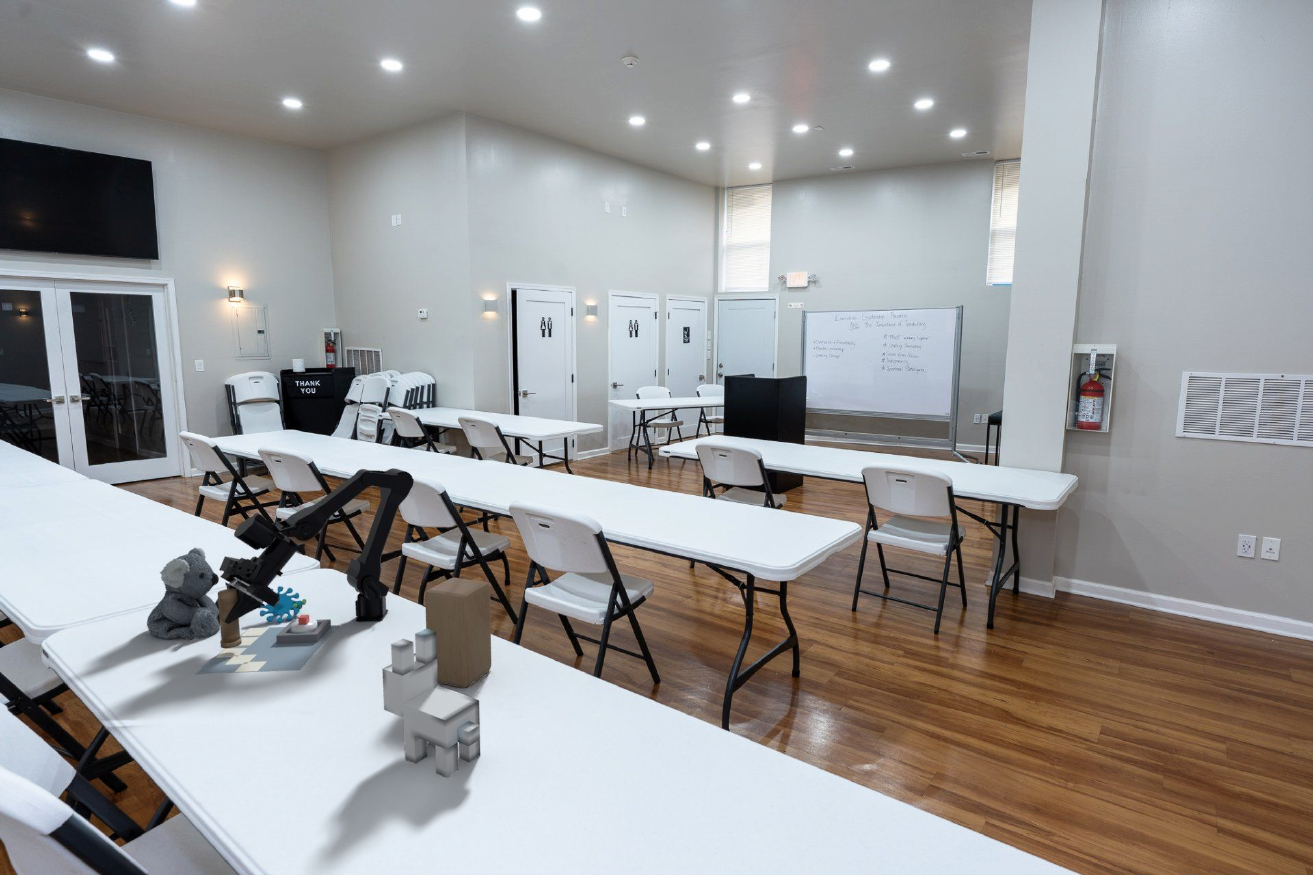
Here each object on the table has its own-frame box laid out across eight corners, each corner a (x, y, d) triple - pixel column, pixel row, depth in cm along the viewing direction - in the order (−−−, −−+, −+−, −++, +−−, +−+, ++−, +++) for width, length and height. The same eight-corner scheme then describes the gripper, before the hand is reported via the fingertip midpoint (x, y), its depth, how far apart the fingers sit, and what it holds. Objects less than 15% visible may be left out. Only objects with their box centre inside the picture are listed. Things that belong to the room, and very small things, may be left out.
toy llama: (458, 783, 109) (455, 665, 107) (385, 750, 118) (381, 640, 116) (491, 759, 116) (489, 647, 113) (420, 729, 124) (416, 625, 122)
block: (493, 669, 148) (491, 581, 146) (466, 690, 139) (464, 596, 137) (454, 661, 152) (452, 575, 149) (425, 682, 142) (422, 590, 140)
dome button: (321, 628, 166) (320, 611, 165) (312, 638, 160) (311, 620, 160) (297, 629, 165) (296, 611, 165) (287, 638, 160) (286, 621, 159)
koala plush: (213, 641, 161) (207, 561, 158) (129, 645, 158) (122, 564, 155) (245, 613, 178) (240, 541, 175) (169, 617, 175) (163, 543, 172)
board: (339, 628, 169) (338, 617, 169) (300, 673, 145) (299, 660, 145) (249, 631, 166) (248, 620, 166) (195, 677, 143) (194, 664, 142)
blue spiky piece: (256, 621, 168) (258, 585, 174) (254, 632, 172) (256, 596, 177) (306, 619, 174) (306, 584, 180) (303, 629, 178) (304, 594, 183)
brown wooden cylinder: (245, 641, 154) (242, 588, 153) (232, 648, 150) (228, 595, 149) (229, 640, 155) (225, 587, 153) (216, 647, 151) (212, 594, 149)
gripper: (227, 535, 159) (175, 593, 151) (261, 550, 147) (207, 614, 140) (265, 559, 166) (218, 616, 159) (300, 576, 154) (251, 638, 147)
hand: (222, 620), depth 151 cm, fingers closed on brown wooden cylinder, 4 cm apart
